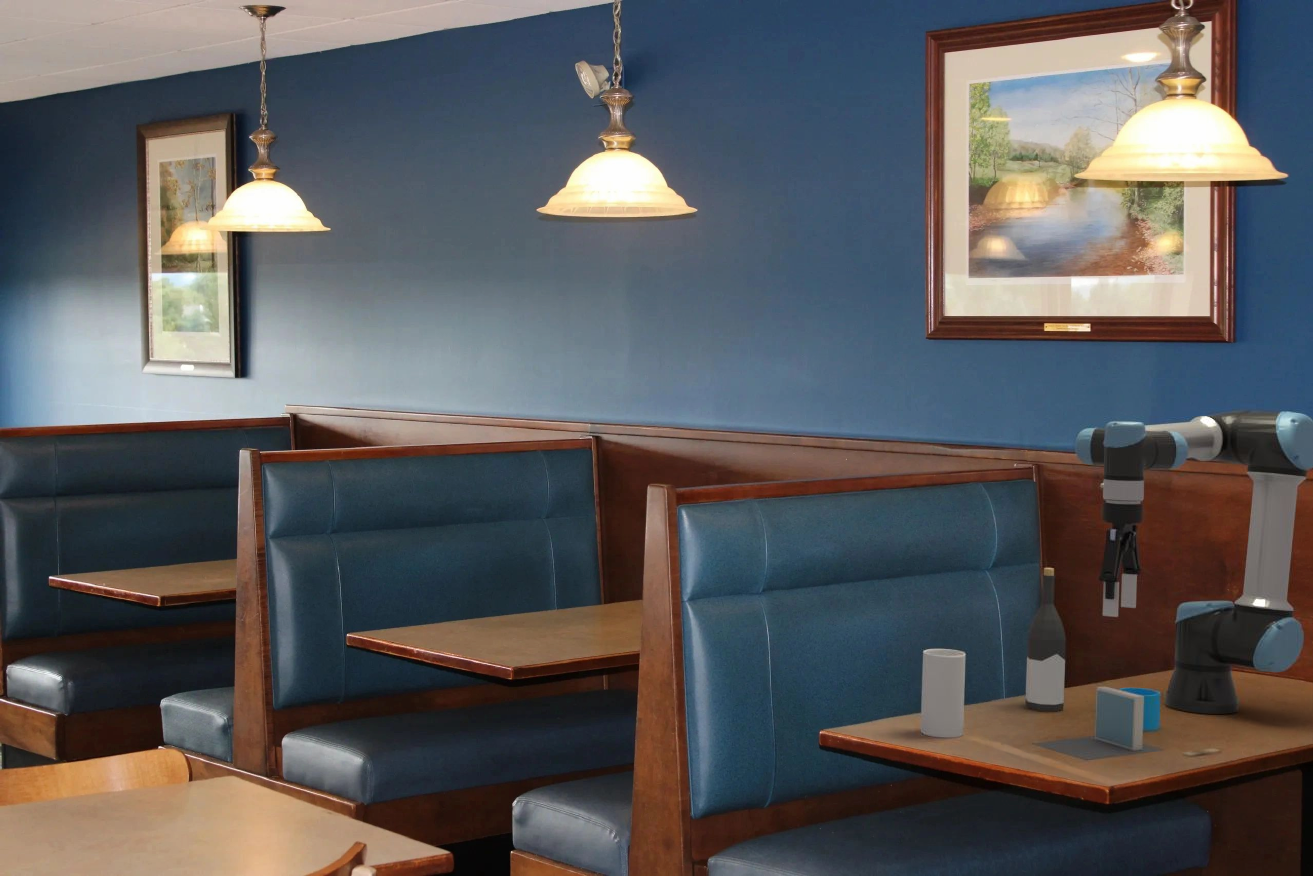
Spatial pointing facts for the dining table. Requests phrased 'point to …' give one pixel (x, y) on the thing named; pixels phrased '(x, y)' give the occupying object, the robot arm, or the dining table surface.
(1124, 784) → the dining table surface
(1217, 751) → the turner
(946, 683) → the cup
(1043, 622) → the wine bottle
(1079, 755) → the mat
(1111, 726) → the tile
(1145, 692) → the mug
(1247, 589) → the robot arm
